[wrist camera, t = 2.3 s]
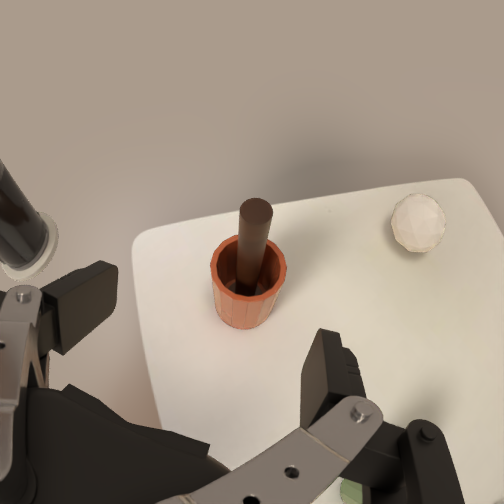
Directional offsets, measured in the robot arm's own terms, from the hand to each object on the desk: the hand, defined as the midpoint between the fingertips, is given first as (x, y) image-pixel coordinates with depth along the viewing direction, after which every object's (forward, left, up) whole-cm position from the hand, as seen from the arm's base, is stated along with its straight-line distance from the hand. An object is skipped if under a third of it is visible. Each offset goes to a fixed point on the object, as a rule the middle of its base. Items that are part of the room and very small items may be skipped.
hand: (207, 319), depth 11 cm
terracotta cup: (+4, +7, -20) cm, 22 cm away
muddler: (+4, +7, -20) cm, 21 cm away
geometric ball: (+28, +12, -21) cm, 37 cm away
